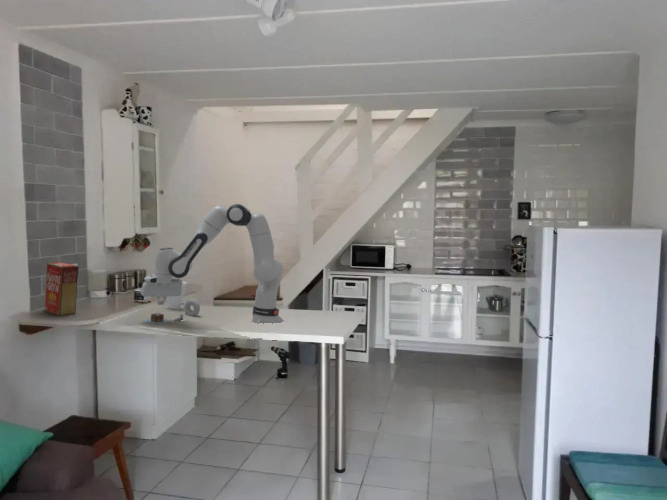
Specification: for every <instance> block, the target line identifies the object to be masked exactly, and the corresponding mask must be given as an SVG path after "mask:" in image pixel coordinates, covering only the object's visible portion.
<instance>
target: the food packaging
mask: <svg viewBox="0 0 667 500" xmlns="http://www.w3.org/2000/svg"><path fill="white" fill-rule="evenodd" d="M79 268H80V267H79V265H74V264H70V263H66V262H64V261H61V262H60V261H59V262H47V263H46V279H45V280H46V281H45V299H44V310H43V311H44V312H47V313H50V314H52V315H55V316H58V317H62V316H69V314H70V315H74V313H75V314H76V313H77V312H76V311H77V295H78V293H77V292H78V280H79Z"/></svg>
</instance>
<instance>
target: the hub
mask: <svg viewBox="0 0 667 500" xmlns="http://www.w3.org/2000/svg"><path fill="white" fill-rule="evenodd" d="M160 314H161V313H160V312H156V316H160ZM170 321H171V319H166V318H164V320H163V321H162V322H153V321H151V317H150V318H148V319H146V320H143V322H144V323H148V324H153V325H164V324H166V323H168V322H170Z"/></svg>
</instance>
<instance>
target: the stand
mask: <svg viewBox="0 0 667 500" xmlns="http://www.w3.org/2000/svg"><path fill="white" fill-rule="evenodd" d="M183 319H184V313H180V315H179V317H177V318H175V319H173V321H175V322H181V320H183Z"/></svg>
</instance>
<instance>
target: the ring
mask: <svg viewBox="0 0 667 500" xmlns="http://www.w3.org/2000/svg"><path fill="white" fill-rule="evenodd" d="M156 313H157V312H156ZM156 313H151V315H150V318H151V321H153V322H162V321H163V320H164V319H165V318H164V317H165V315H164V313H160V316H156Z"/></svg>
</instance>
